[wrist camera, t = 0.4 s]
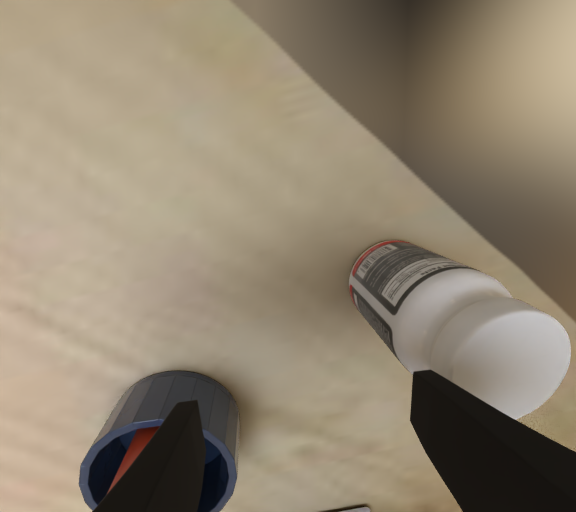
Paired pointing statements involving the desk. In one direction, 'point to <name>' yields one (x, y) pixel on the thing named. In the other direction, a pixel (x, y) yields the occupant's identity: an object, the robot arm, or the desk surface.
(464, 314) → the pill bottle
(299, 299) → the desk surface
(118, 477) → the red peg
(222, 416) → the blue cup
